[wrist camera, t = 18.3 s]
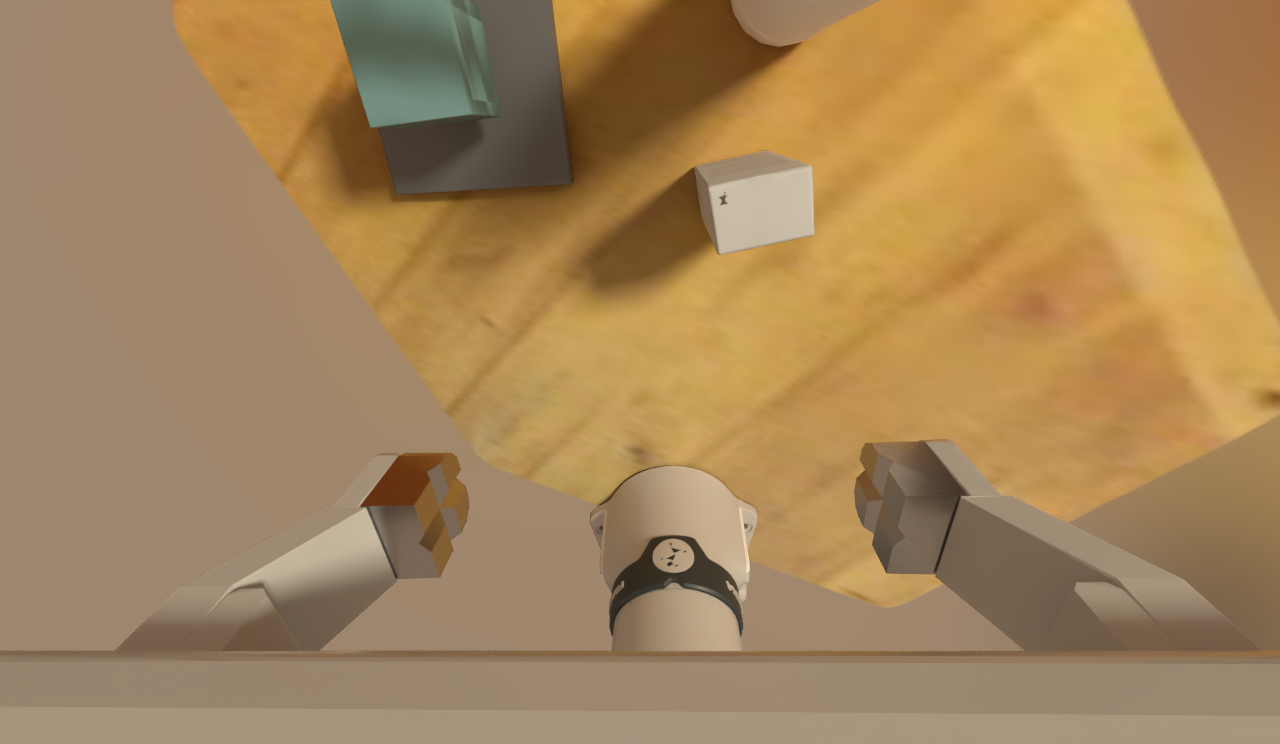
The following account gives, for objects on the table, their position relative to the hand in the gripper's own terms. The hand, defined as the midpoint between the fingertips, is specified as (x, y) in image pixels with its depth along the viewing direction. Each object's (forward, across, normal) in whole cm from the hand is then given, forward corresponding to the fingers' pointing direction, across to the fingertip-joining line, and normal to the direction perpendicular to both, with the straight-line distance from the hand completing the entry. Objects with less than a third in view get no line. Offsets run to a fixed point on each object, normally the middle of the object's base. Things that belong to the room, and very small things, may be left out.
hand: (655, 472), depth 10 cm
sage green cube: (+30, +14, -10) cm, 35 cm away
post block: (+34, +14, -10) cm, 38 cm away
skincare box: (+34, -6, -1) cm, 35 cm away
